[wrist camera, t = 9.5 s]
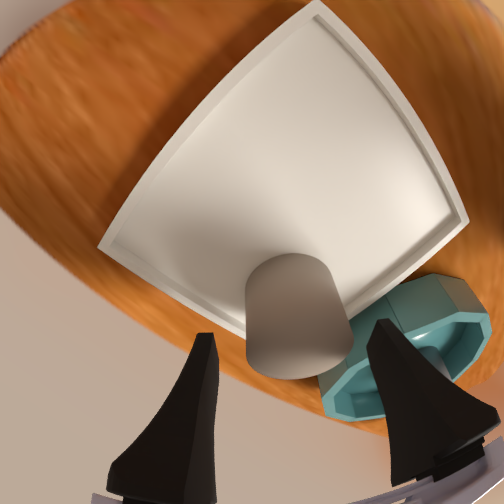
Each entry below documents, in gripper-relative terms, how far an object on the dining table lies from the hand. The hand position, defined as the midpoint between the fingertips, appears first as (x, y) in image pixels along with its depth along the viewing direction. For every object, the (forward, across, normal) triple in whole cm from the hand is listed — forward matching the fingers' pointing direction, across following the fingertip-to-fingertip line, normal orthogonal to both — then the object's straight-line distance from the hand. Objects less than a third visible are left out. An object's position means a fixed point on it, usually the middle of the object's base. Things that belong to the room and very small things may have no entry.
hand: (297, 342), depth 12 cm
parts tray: (+4, 0, -4) cm, 6 cm away
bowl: (+4, -10, +7) cm, 13 cm away
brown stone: (+3, 0, 0) cm, 3 cm away
